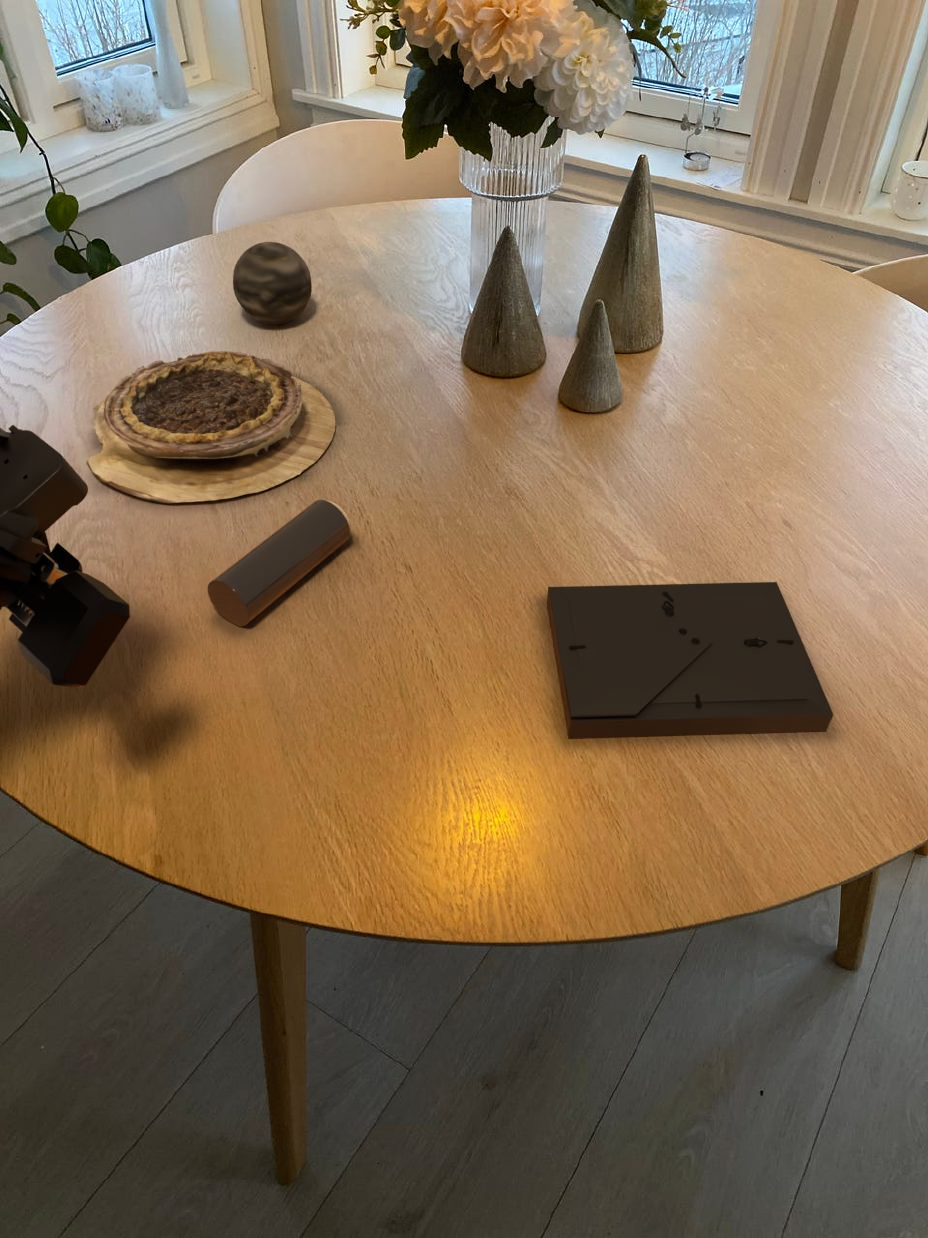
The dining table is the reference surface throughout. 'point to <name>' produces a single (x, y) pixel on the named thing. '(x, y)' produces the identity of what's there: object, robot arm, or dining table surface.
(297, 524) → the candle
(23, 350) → the dining table surface
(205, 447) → the pie
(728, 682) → the picture frame
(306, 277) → the decorative stone
